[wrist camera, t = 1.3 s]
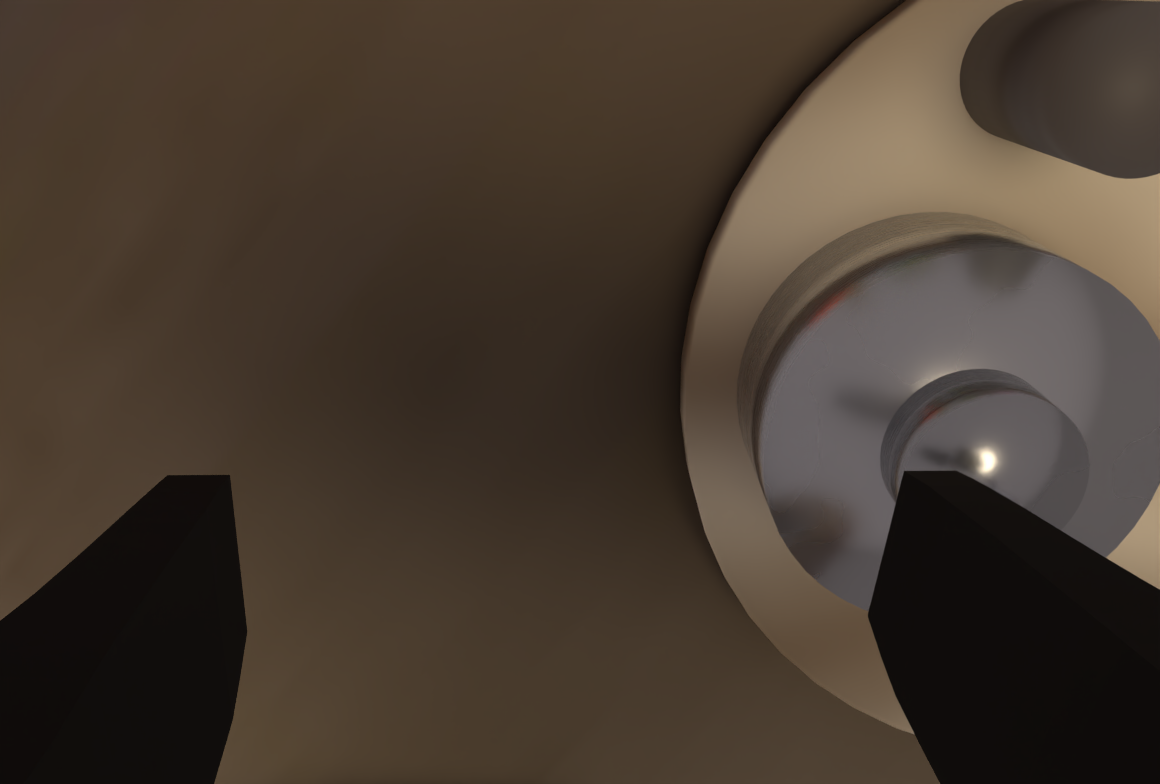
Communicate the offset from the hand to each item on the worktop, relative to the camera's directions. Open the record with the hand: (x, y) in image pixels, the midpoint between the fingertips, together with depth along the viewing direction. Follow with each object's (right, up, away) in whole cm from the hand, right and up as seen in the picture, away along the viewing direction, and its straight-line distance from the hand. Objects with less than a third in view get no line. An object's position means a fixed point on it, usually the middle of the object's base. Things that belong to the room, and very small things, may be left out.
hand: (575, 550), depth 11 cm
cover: (+7, +2, +9) cm, 12 cm away
